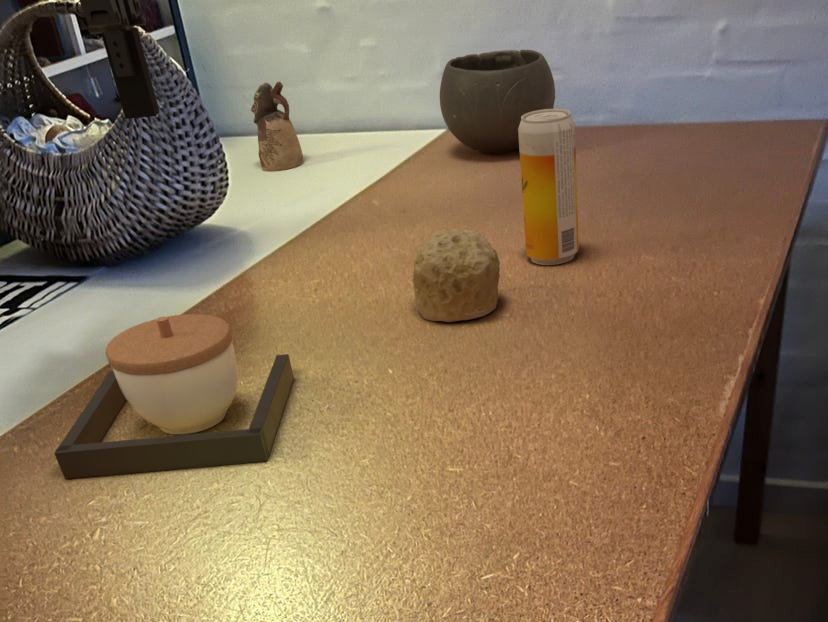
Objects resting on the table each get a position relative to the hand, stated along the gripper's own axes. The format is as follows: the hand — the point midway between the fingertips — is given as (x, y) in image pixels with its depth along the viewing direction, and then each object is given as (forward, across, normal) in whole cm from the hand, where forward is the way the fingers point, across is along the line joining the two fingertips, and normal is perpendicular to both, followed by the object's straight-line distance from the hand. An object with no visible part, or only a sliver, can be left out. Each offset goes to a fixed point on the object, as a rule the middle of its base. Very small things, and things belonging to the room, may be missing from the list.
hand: (142, 115), depth 87 cm
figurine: (+23, +77, +5) cm, 80 cm away
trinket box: (+22, -15, -2) cm, 27 cm away
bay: (+22, -16, -2) cm, 27 cm away
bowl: (+23, +73, -31) cm, 82 cm away
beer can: (+22, +19, -37) cm, 47 cm away
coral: (+22, +6, -26) cm, 35 cm away
